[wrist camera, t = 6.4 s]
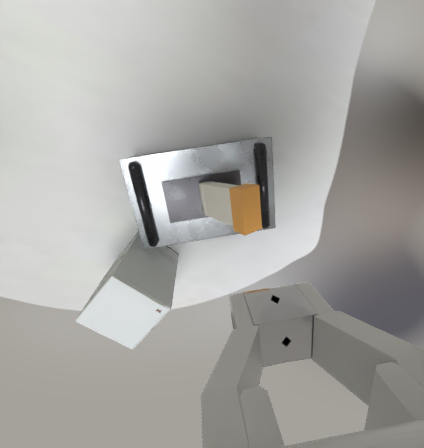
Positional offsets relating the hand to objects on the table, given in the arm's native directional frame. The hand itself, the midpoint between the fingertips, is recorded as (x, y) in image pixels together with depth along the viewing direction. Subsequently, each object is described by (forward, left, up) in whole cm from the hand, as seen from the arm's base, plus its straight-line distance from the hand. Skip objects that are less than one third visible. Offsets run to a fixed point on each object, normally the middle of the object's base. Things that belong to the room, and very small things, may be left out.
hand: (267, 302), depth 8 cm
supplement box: (+10, -12, -25) cm, 30 cm away
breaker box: (0, -1, -25) cm, 25 cm away
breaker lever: (0, -1, -18) cm, 19 cm away
